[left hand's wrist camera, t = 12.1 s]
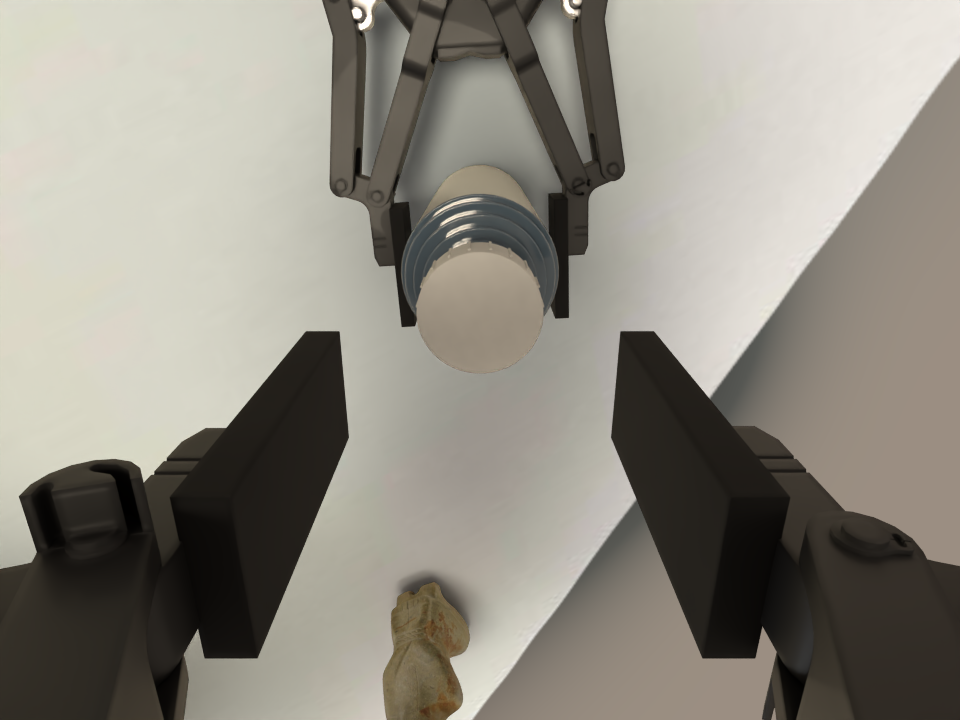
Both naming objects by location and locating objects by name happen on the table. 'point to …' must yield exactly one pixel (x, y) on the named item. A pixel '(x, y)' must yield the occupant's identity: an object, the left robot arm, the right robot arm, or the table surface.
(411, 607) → the sculpture
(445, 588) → the table surface
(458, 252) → the cap
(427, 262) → the bottle
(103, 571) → the left robot arm
